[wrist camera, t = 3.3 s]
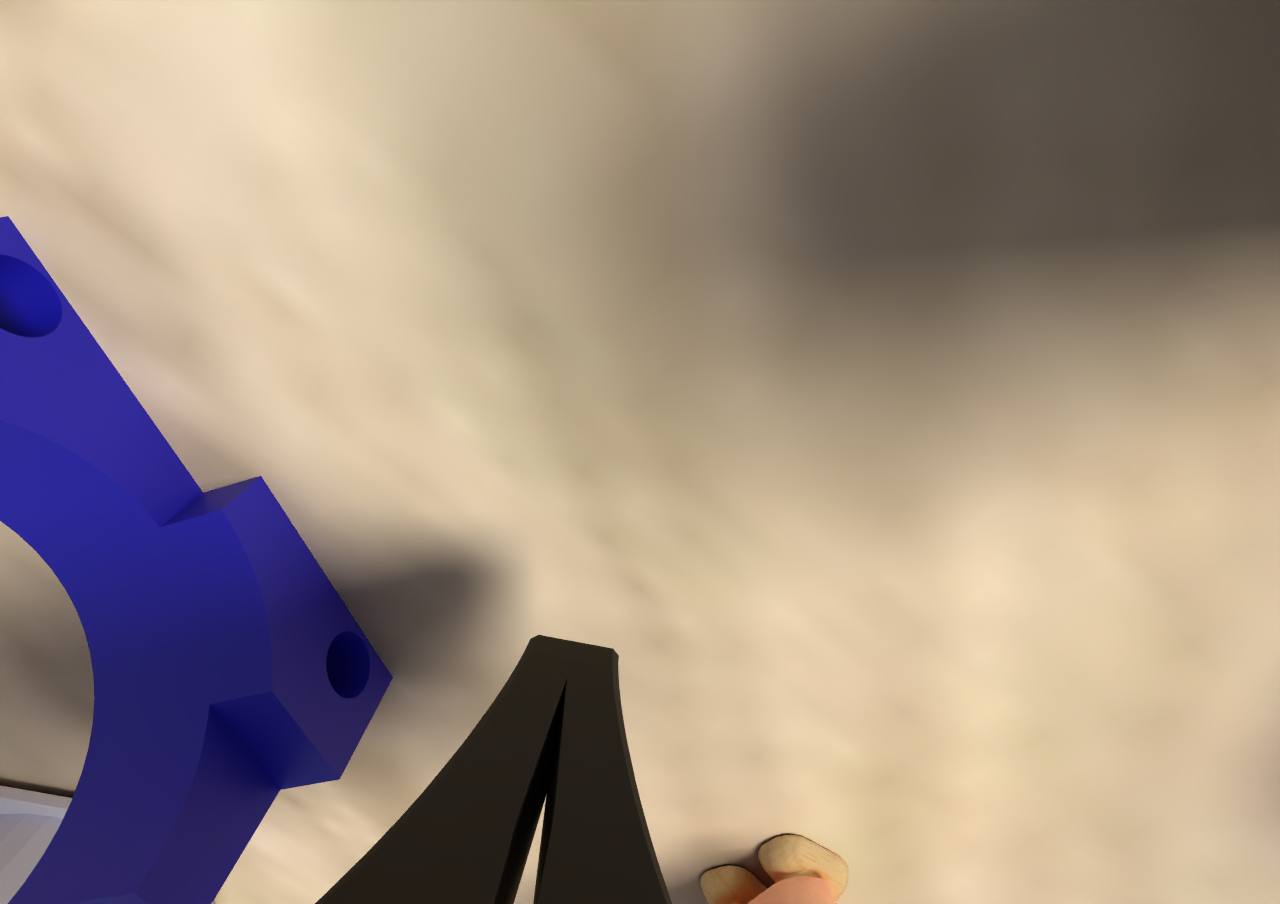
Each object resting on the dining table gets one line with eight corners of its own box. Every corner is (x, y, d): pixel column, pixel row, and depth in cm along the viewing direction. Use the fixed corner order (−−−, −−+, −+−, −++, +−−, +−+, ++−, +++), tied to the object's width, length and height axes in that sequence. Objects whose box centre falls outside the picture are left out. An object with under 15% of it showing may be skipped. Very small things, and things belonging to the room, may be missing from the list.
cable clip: (394, 673, 17) (258, 933, 12) (246, 704, 18) (57, 958, 13) (80, 188, 12) (-413, 255, 7) (-103, 265, 13) (-666, 378, 8)
